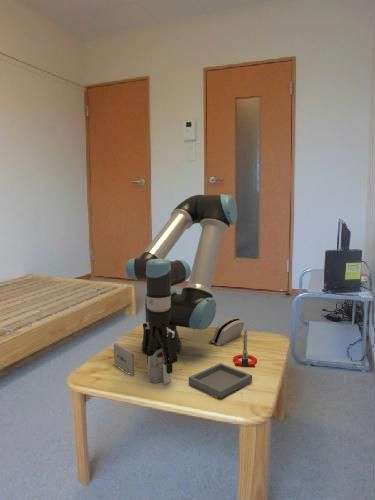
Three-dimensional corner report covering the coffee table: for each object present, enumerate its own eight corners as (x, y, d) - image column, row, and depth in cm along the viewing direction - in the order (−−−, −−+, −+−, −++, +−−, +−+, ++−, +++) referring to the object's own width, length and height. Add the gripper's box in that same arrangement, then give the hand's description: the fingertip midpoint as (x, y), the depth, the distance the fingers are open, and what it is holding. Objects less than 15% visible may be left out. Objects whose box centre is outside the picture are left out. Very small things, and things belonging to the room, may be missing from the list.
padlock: (163, 373, 131) (163, 344, 130) (172, 377, 128) (171, 347, 127) (147, 381, 126) (147, 350, 124) (156, 384, 123) (155, 354, 122)
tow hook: (233, 357, 145) (232, 366, 136) (234, 322, 144) (233, 329, 135) (256, 358, 144) (257, 367, 135) (257, 323, 143) (258, 330, 134)
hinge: (231, 332, 170) (238, 312, 167) (239, 338, 168) (247, 318, 164) (207, 343, 158) (214, 322, 154) (216, 349, 155) (224, 328, 152)
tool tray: (188, 384, 123) (188, 377, 122) (220, 370, 133) (220, 363, 133) (220, 399, 114) (220, 391, 113) (252, 382, 124) (252, 375, 124)
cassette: (113, 364, 138) (112, 343, 137) (117, 363, 139) (117, 342, 138) (131, 376, 129) (130, 354, 128) (136, 375, 130) (135, 352, 129)
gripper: (130, 305, 128) (131, 372, 131) (171, 317, 114) (171, 393, 117) (148, 300, 133) (149, 365, 136) (189, 312, 120) (189, 384, 122)
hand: (159, 378), depth 127 cm, fingers open, 7 cm apart
